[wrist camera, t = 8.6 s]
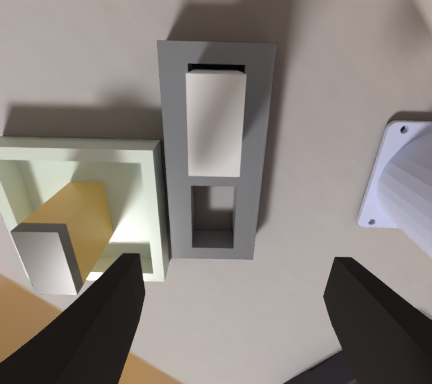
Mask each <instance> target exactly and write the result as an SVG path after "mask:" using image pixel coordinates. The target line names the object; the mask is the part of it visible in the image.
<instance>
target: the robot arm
mask: <svg viewBox="0 0 432 384" xmlns="http://www.w3.org/2000/svg"><path fill="white" fill-rule="evenodd" d="M403 126H405V129H404V130H403V131H402V132H400V129H401V128H402V127H403ZM371 219H373V220H372V221H371V222H369V221H370V220H371ZM357 223H358V224H359V226H361V227H382V228H400V229H401V230H402V231H403V232H404V233H405V234H406V235H407V236H409V237H410V238H411V239H412V240H413V241H414V242H415V243H416V244H417V245H418V246H419V247H420V248H421V249H422V250H424V251H425V252H426V253H427V254H428V255H429V256H430V257H431V258H432V121H403V120H395V121H392V122H390V123H389V124H388V125H387V126H386V128H385V132H384V135H383V138H382V141H381V144H380V147H379V151H378V154H377V157H376V160H375V163H374V166H373V170H372V173H371V176H370V179H369V182H368V185H367V188H366V192H365V195H364V198H363V201H362V204H361V207H360V211H359V214H358V217H357ZM144 297H145V287H144V280H143V273H142V266H141V259H140V253H123V254H122V255H120V256H119V257H118V258H117V259H116V260H115V261H114V263H113V264H112V265H111V266H110V267H109V268H108V269H107V270H106V271H105V272H104V273H103V274H102V275H101V276H100V277H99V278H98V279H97V280H96V281H95V282H94V283H93V284H92V285H91V286H90V287H89V288H88V289H87V290H86V291H85V292H84V293H83V294H82V295H81V296H80V297H79V298H77V299H76V300H75V301H74V302H73V303H72V304H71V305H70V306H69V307H68V308H67V309H65V310H64V311H63V312H62V313H61V314H60V315H59V316H58V317H57V318H56V319H54V320H53V321H52V322H51V323H50V324H49V325H48V326H46V327H45V328H44V329H43V330H42V331H40V332H39V333H38V334H37V335H36V336H34V337H33V338H32V339H31V340H29V341H28V342H27V343H26V344H24V345H23V346H22V347H21V348H19V349H18V350H17V351H16V352H14V353H13V354H12V355H10V356H9V357H8V358H6V359H5V360H4V361H2V362H1V363H0V384H118V383H119V379H120V377H121V374H122V371H123V368H124V365H125V362H126V359H127V356H128V353H129V350H130V347H131V344H132V341H133V338H134V335H135V332H136V329H137V326H138V323H139V320H140V316H141V311H142V307H143V302H144ZM323 297H324V301H325V304H326V308H327V311H328V314H329V317H330V321H331V324H332V326H333V328H334V331H335V333H336V335H337V338H338V340H339V342H340V344H341V347H342V349H343V351H344V353H345V356H346V358H347V360H348V362H349V365H350V367H351V369H352V371H353V374H354V376H355V378H356V380H357V383H358V384H432V320H431V319H429V318H428V317H427V316H425V315H424V314H423V313H421V312H420V311H419V310H417V309H416V308H415V307H413V306H412V305H411V304H410V303H408V302H407V301H406V300H404V299H403V298H402V297H401V296H399V295H398V294H397V293H396V292H394V291H393V290H392V289H391V288H389V287H388V286H387V285H386V284H384V283H383V282H382V281H381V280H379V279H378V278H377V277H376V276H374V275H373V274H372V273H371V272H370V271H368V270H367V269H366V268H365V267H363V266H362V265H361V264H360V263H358V262H357V261H356V260H354V259H353V258H352V257H335V258H334V261H333V265H332V268H331V272H330V275H329V278H328V282H327V285H326V289H325V292H324V295H323Z"/></svg>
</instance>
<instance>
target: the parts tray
mask: <svg viewBox="0 0 432 384" xmlns="http://www.w3.org/2000/svg"><path fill="white" fill-rule="evenodd" d="M69 182H104V185H105V190H106V195H107V200H108V206H109V211H110V216H111V221H112V226H113V231H114V234H113V236H112V237H111V239H110V241H109V242H108V244H107V246H106V247H105V249H104V251H103V252H102V254H101V256H100V257H99V259H98V261H97V262H96V264H95V266H94V267H93V269H92V271H91V273H90V274H89V276H88V278H87V279H86V280H97V279H98V278H99V277H100V276H101V275H102V274H103V273H104V272H105V271H106V270H107V269H108V268H109V267H110V266H111V265H112V264H113V263H114V261H115V260H116V259H117V258H118V257H119V256H120V255H122V254H123V253H140V259H141V266H142V273H143V280H144V281H164V282H165V278H166V273H167V269H168V265H169V249H168V236H167V223H166V210H165V197H164V184H163V171H162V158H161V145H160V140H146V139H103V138H60V137H17V136H1V137H0V212H1V214H2V217H3V219H4V221H5V224H6V226H7V229H8V231H9V234H10V236H11V238H12V235H11V233H10V231H11V230H13V229H14V228H15V227H16V226H17V225H19V224H20V223H21V222H22V221H23V220H25V219H26V218H27V217H28V216H29V215H31V214H32V213H33V212H34V211H35V210H37V209H38V208H39V207H40V206H41V205H43V204H44V203H45V202H46V201H47V200H49V199H50V198H51V197H52V196H53V195H55V194H56V193H57V192H58V191H59V190H61V189H62V188H63V187H64V186H65V185H67V184H68V183H69ZM12 241H13V243H14V240H13V238H12ZM14 246H15V248H16V251H17V253H18V255H19V252H18V250H17V247H16V245H15V243H14ZM19 258H20V260H21V257H20V255H19ZM21 263H22V265H23V268H24V270H25V272H26V269H25V267H24V264H23V262H22V260H21ZM26 275H27V277H28V279H29V276H28V274H27V272H26Z"/></svg>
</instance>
